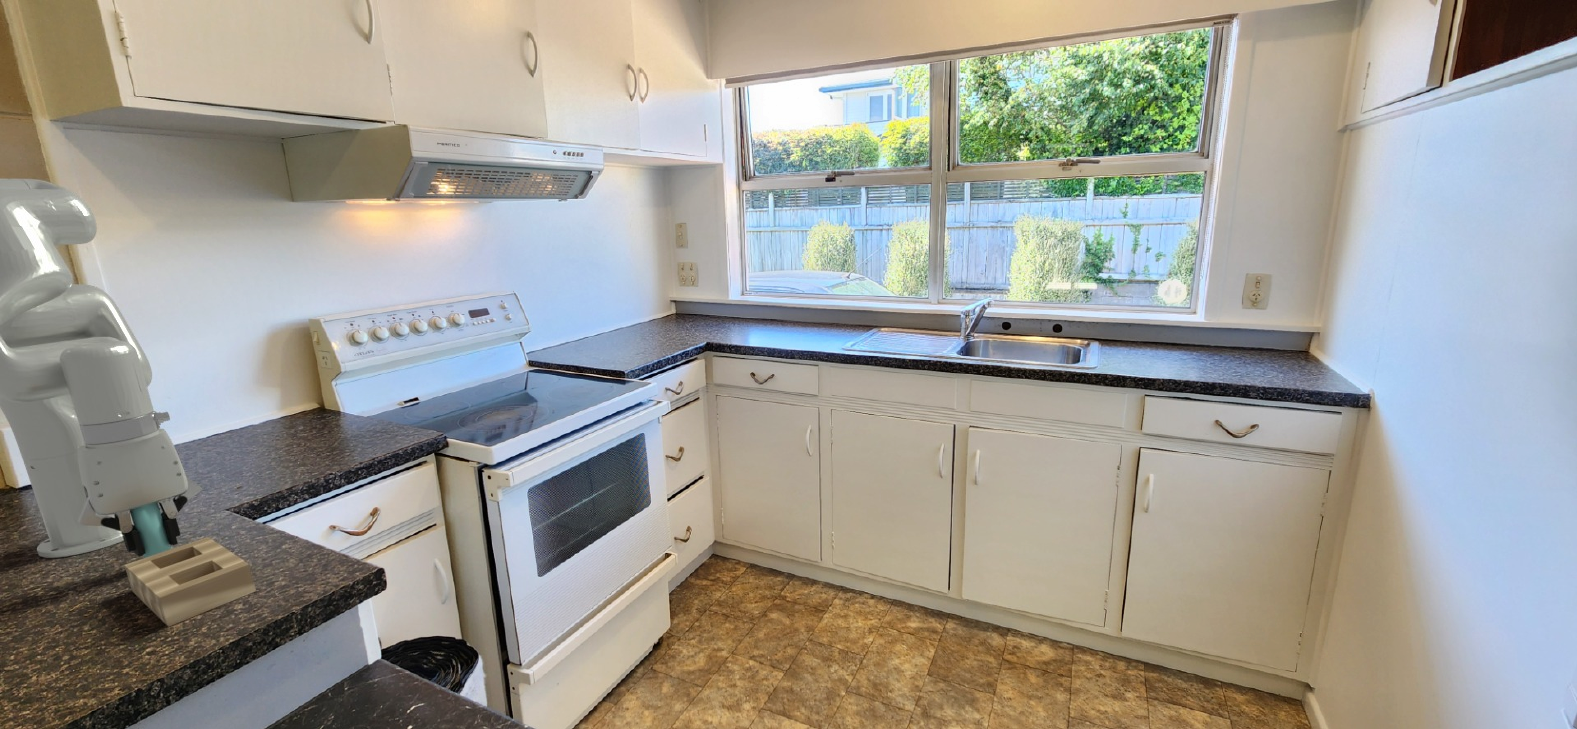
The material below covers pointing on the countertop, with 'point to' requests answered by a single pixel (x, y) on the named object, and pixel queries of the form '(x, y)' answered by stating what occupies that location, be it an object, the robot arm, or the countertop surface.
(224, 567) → the hole block
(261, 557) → the countertop surface
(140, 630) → the countertop surface
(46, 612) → the countertop surface
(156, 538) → the peg
